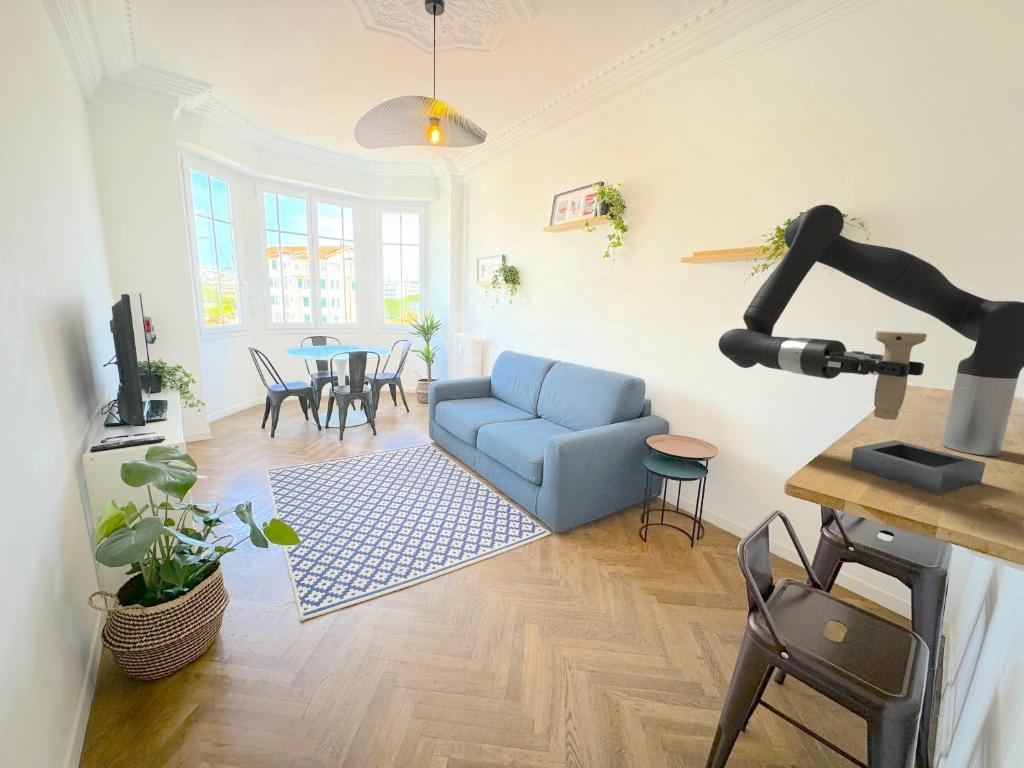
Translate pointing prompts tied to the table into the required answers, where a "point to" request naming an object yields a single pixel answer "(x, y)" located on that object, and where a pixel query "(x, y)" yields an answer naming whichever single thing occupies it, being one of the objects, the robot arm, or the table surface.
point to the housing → (918, 466)
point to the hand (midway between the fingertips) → (914, 370)
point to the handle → (893, 387)
